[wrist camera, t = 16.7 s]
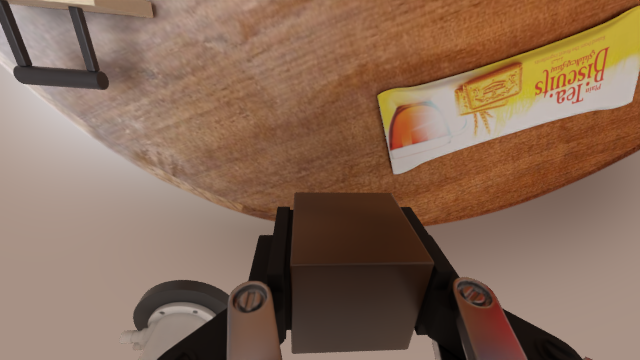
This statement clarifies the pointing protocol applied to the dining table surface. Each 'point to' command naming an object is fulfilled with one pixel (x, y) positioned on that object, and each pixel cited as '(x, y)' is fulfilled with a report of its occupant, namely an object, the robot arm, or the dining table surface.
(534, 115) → the food package
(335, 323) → the block
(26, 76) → the drawer
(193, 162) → the dining table surface
